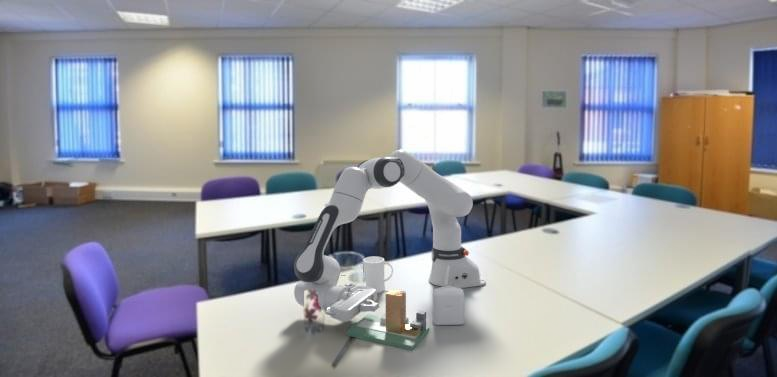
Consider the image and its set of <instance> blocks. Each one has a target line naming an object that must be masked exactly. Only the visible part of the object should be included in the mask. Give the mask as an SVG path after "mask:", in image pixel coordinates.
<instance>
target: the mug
mask: <svg viewBox="0 0 777 377" xmlns="http://www.w3.org/2000/svg"><path fill="white" fill-rule="evenodd" d="M362 262H363V263H362V264H363V273H364V274H363V278H364V277H365V279H366V287H370V288H374V289H376V290H377V294H379V293H383V292H384V291H385V290H386V284H385V282H387V281H389V280H390V279H391V278H392V276H393V272H394V268H393V266H392V264H391V263H390V262H388V261H385V258H384V257H381V256H377V255H376V256H373V255H372V256H367V257H365V258H363V260H362ZM385 265H388V266H389V267H390V269H391V273H390V275H389V276H388V277H387V278H385Z"/></svg>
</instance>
